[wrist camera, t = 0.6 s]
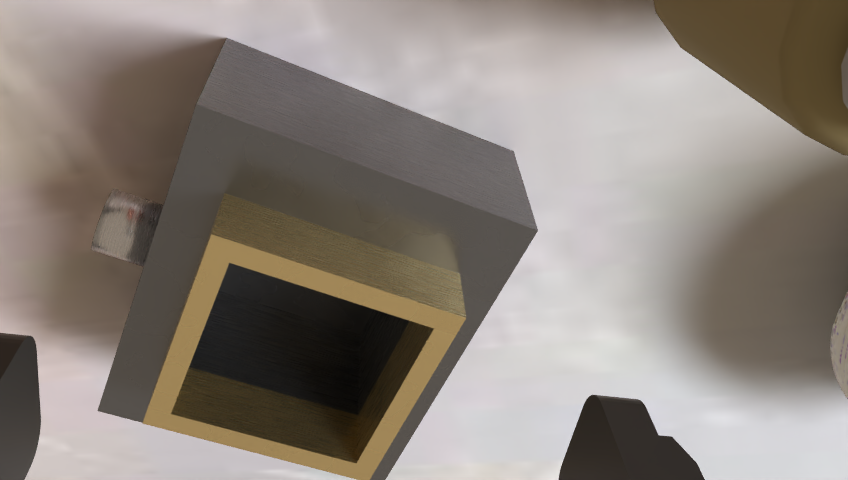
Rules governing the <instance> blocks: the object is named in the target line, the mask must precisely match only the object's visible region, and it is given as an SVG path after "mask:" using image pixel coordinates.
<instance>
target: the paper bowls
mask: <svg viewBox="0 0 848 480" xmlns="http://www.w3.org/2000/svg"><path fill="white" fill-rule="evenodd" d="M830 351H831V361H832V367H833V371H834V374H835V376H836V379H837V381H838V383H839V385H840V388H841V390H842V391H843V392H844V394H845V396H846V397H847V399H848V291H847V293H846V296H845V298H844V300H843V303H842V305H841V307H840V309H839V311H838V313H837V316H836V319H835V322H834V324H833V327H832V332H831V340H830Z"/></svg>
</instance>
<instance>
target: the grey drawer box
mask: <svg viewBox="0 0 848 480" xmlns="http://www.w3.org/2000/svg"><path fill="white" fill-rule="evenodd" d="M537 231H538V229H537V226H536V223H535V219H534V216H533V213H532V210H531V206H530V203H529V200H528V197H527V193H526V190H525V187H524V184H523V180H522V177H521V174H520V171H519V167H518V164H517V161H516V157H515V154H514V152H513V151H511V150H508V149H506V148H503V147H501V146H498V145H496V144H493V143H491V142H488V141H486V140H483V139H481V138H478V137H476V136H473V135H471V134H468V133H465V132H463V131H460V130H458V129H455V128H453V127H450V126H448V125H445V124H443V123H440V122H438V121H435V120H433V119H430V118H428V117H425V116H422V115H420V114H417V113H415V112H412V111H410V110H407V109H405V108H402V107H400V106H397V105H395V104H392V103H390V102H387V101H385V100H382V99H379V98H377V97H374V96H372V95H369V94H367V93H364V92H362V91H359V90H357V89H354V88H352V87H349V86H347V85H344V84H342V83H339V82H336V81H334V80H331V79H329V78H326V77H324V76H321V75H319V74H316V73H314V72H311V71H309V70H306V69H304V68H301V67H299V66H296V65H293V64H291V63H288V62H286V61H283V60H281V59H278V58H276V57H273V56H271V55H268V54H266V53H263V52H261V51H258V50H256V49H253V48H250V47H248V46H245V45H243V44H240V43H238V42H235V41H233V40H230V39H228V38H227V39H226V41H225V43H224V45H223V47H222V49H221V52H220V54H219V56H218V58H217V60H216V62H215V65H214V67H213V69H212V71H211V73H210V75H209V78H208V80H207V82H206V84H205V86H204V88H203V91H202V93H201V95H200V97H199V99H198V101H197V104H196V106H195V110H194V113H193V116H192V119H191V122H190V125H189V128H188V131H187V134H186V138H185V141H184V144H183V147H182V150H181V153H180V156H179V159H178V162H177V166H176V169H175V172H174V175H173V178H172V181H171V184H170V187H169V190H168V194H167V197H166V200H165V203H164V205H162V204H159V203H156V202H153V201H150V200H147V199H144V198H141V197H138V196H135V195H132V194H129V193H126V192H123V191H120V190H117V189H113V190H112V192H111V193H110V195H109V197H108V199H107V201H106V204H105V206H104V209H103V211H102V214H101V216H100V219H99V222H98V225H97V228H96V231H95V234H94V238H93V242H92V247H91V250H92V251H96V252H99V253H102V254H105V255H108V256H112V257H115V258H118V259H121V260H125V261H128V262H131V263H134V264H137V265H141V266H144V268H143V271H142V274H141V277H140V281H139V284H138V287H137V290H136V293H135V296H134V299H133V302H132V305H131V309H130V312H129V315H128V318H127V321H126V324H125V327H124V330H123V333H122V337H121V340H120V343H119V346H118V349H117V352H116V355H115V358H114V361H113V364H112V368H111V371H110V374H109V377H108V380H107V383H106V386H105V389H104V392H103V396H102V399H101V402H100V405H99V408H98V411H100V412H104V413H108V414H112V415H115V416H119V417H123V418H127V419H131V420H134V421H138V422H142V423H143V424H147V425H151V426H155V427H159V428H162V429H166V430H170V431H174V432H178V433H182V434H185V435H189V436H193V437H197V438H201V439H204V440H208V441H212V442H216V443H220V444H224V445H227V446H231V447H235V448H239V449H243V450H247V451H250V452H254V453H258V454H262V455H266V456H269V457H273V458H277V459H281V460H285V461H289V462H292V463H296V464H300V465H304V466H308V467H312V468H315V469H319V470H323V471H327V472H331V473H334V474H338V475H342V476H346V477H350V478H354V479H357V480H385V479H386V478H387V476H388V474H389V473H390V471H391V470H392V468H393V466H394V465H395V463H396V461H397V460H398V458H399V456H400V455H401V453H402V452H403V450H404V448H405V447H406V445H407V443H408V442H409V440H410V439H411V437H412V435H413V434H414V432H415V430H416V429H417V427H418V425H419V424H420V422H421V421H422V419H423V417H424V416H425V414H426V412H427V411H428V409H429V407H430V406H431V404H432V403H433V401H434V399H435V398H436V396H437V394H438V393H439V391H440V390H441V388H442V386H443V385H444V383H445V381H446V380H447V378H448V376H449V375H450V373H451V372H452V370H453V368H454V367H455V365H456V363H457V362H458V360H459V359H460V357H461V355H462V354H463V352H464V350H465V349H466V347H467V345H468V344H469V342H470V341H471V339H472V337H473V336H474V334H475V332H476V331H477V329H478V327H479V326H480V324H481V323H482V321H483V319H484V318H485V316H486V314H487V313H488V311H489V310H490V308H491V306H492V305H493V303H494V301H495V300H496V298H497V296H498V295H499V293H500V292H501V290H502V288H503V287H504V285H505V283H506V282H507V280H508V279H509V277H510V275H511V274H512V272H513V270H514V269H515V267H516V265H517V264H518V262H519V261H520V259H521V257H522V256H523V254H524V252H525V251H526V249H527V248H528V246H529V244H530V243H531V241H532V239H533V238H534V236H535V234H536V233H537Z"/></svg>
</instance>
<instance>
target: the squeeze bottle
mask: <svg viewBox="0 0 848 480" xmlns="http://www.w3.org/2000/svg"><path fill="white" fill-rule="evenodd" d="M654 5H655V11H656V13H657V15H658V16H659V18H660V19H661V21H662V22H663V23H664V25H665V26H666V28H667V29H668V30H669V32H670V33H671V35H672V36H673V37H674V39H675V40H676V42H677V43H678V44H679V46H680V47H681V48H682V49H684V50H685V51H686V52H688V53H689V54H691V55H692V56H694V57H695V58H696V59H698V60H699V61H701V62H702V63H704V64H705V65H706V66H708V67H709V68H711V69H712V70H713V71H715V72H716V73H718V74H719V75H721V76H722V77H723V78H725V79H726V80H728V81H729V82H731V83H732V84H733V85H735V86H736V87H738V88H739V89H740V90H742V91H743V92H745V93H746V94H748V95H749V96H750V97H752V98H753V99H755V100H756V101H758V102H759V103H760V104H762V105H763V106H765V107H766V108H767V109H769V110H770V111H772V112H773V113H775V114H776V115H777V116H779V117H780V118H782V119H783V120H785V121H786V122H787V123H789V124H790V125H792V126H793V127H794V128H796V129H797V130H799V131H800V132H802V133H803V134H804V135H806V136H808V137H810V138H812V139H814V140H816V141H818V142H820V143H821V144H823V145H825V146H827V147H829V148H831V149H833V150H835V151H837V152H839V153H841V154H843V155H848V0H654Z"/></svg>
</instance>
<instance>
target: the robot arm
mask: <svg viewBox="0 0 848 480" xmlns="http://www.w3.org/2000/svg"><path fill="white" fill-rule="evenodd" d="M40 425H41V415H40V398H39V382H38V365H37V350H36V343H35V340H34V338H33V337H32V336H25V335H16V334H6V333H0V480H24V479H25V477H26V475H27V473H28V471H29V469H30V467H31V464H32V462H33V459H34V456H35V453H36V449H37V445H38V440H39V435H40ZM559 480H705V479H704V477H703V475H702V473H701V471H700V469H699V467H698V465H697V463H696V462H695V461H694V460H693V459H692V458H691V457H690V455H689V454H688V453H687V452H686V451H685V450H684V449H683V448H682V447H681V446H680V445H679V444H678V443H677V442H676V441H675V440H674V439H673V437H669V436H659V435H658V433H657V431H656V429H655V427H654V424H653V422H652V420H651V418H650V416H649V413H648V411H647V409H646V407H645V405H644V404H643V402H642V401H640V400H638V399H629V398H619V397H609V396H599V395H591V396H589V397H588V399H587V400H586V402H585V404H584V406H583V409H582V411H581V414H580V417H579V420H578V422H577V425H576V428H575V430H574V433H573V436H572V439H571V441H570V444H569V447H568V449H567V452H566V455H565V458H564V460H563V463H562V466H561V470H560V475H559Z"/></svg>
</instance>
